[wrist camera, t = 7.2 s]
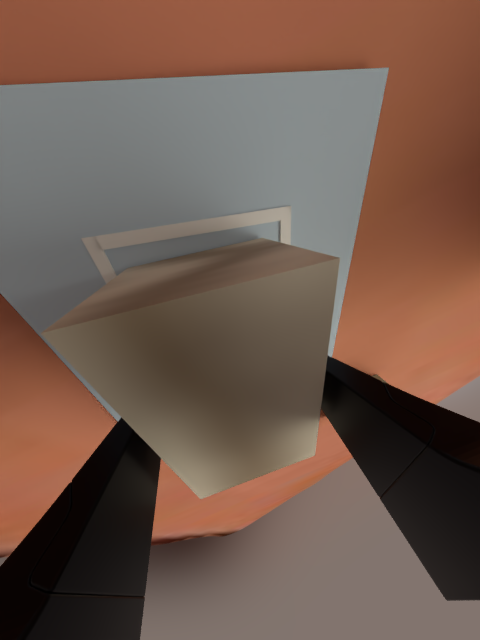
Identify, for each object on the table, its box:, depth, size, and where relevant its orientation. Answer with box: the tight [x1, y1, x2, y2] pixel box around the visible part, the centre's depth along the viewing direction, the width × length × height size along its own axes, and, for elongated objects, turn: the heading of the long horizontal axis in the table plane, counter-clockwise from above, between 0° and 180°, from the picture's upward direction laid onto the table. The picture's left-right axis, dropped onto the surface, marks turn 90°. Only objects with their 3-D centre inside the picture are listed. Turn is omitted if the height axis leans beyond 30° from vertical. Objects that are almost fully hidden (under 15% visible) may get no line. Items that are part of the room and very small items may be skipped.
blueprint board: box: [0, 68, 389, 421], centre depth 11 cm, size 16×20×1 cm
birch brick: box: [41, 238, 340, 499], centre depth 8 cm, size 6×10×5 cm, turn 10°
